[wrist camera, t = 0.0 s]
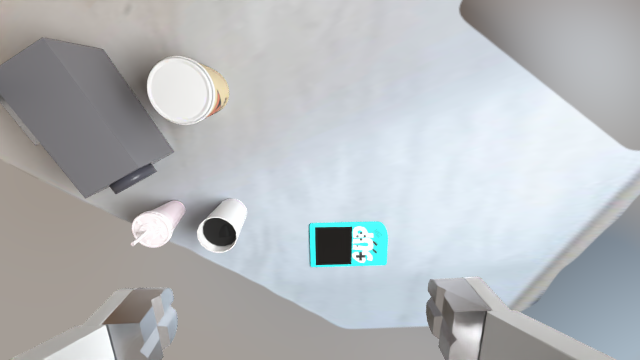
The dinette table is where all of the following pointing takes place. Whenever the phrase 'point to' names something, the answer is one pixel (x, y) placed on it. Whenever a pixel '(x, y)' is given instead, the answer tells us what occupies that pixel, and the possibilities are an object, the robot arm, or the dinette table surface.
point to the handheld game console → (348, 244)
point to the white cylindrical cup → (222, 226)
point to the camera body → (83, 114)
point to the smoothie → (157, 224)
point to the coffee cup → (186, 90)
